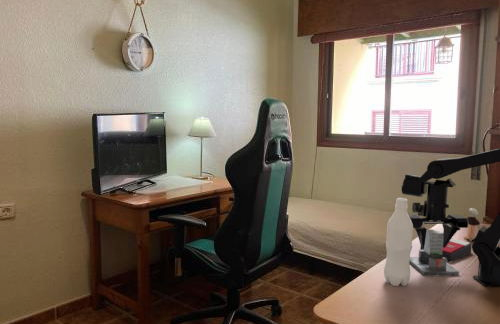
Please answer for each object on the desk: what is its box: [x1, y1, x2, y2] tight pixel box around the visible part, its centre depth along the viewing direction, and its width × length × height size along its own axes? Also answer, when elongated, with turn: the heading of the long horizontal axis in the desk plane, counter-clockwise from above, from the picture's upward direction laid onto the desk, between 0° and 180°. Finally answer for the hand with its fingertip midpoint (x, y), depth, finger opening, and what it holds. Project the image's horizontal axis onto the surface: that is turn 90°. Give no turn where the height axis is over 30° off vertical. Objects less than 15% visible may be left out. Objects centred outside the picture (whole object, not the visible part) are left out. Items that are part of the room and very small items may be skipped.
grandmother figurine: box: [463, 207, 482, 243], centre depth 159 cm, size 8×4×13 cm, turn 25°
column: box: [424, 228, 444, 255], centre depth 130 cm, size 4×4×7 cm
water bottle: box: [383, 197, 414, 287], centre depth 118 cm, size 7×7×25 cm
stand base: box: [409, 249, 460, 276], centre depth 131 cm, size 12×11×5 cm
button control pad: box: [419, 237, 473, 263], centre depth 145 cm, size 11×4×15 cm
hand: (433, 247), depth 130 cm, fingers open, 7 cm apart
